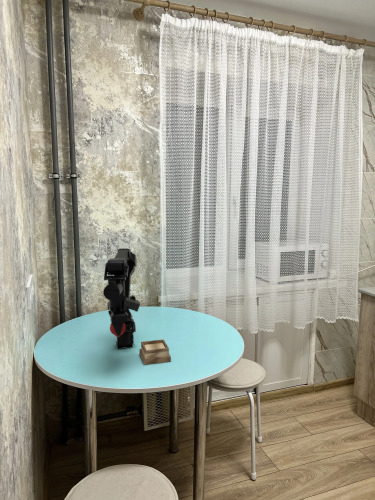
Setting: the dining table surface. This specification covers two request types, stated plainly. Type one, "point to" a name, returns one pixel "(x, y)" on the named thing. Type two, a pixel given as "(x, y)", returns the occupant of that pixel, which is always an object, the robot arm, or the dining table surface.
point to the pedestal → (154, 352)
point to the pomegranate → (114, 329)
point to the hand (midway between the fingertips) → (117, 332)
